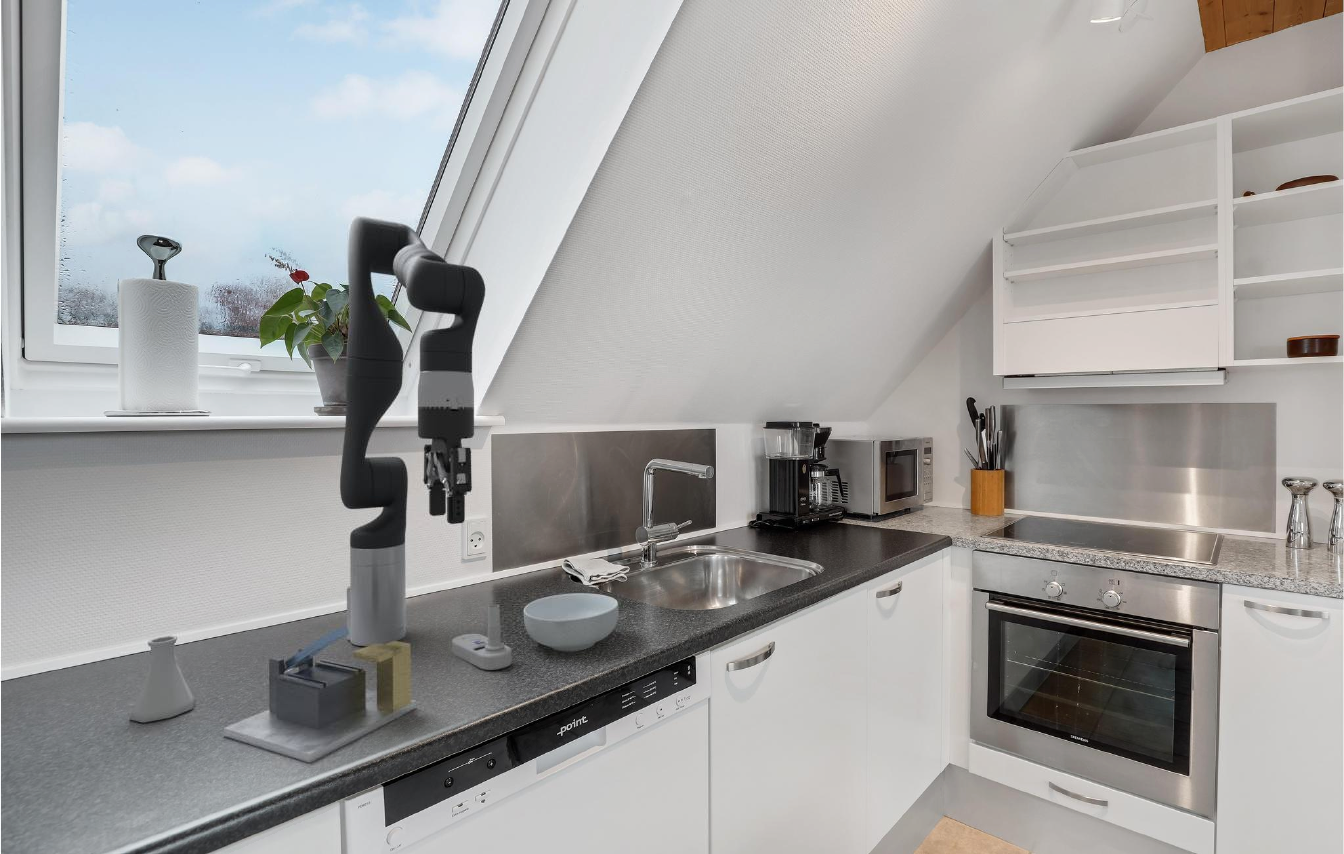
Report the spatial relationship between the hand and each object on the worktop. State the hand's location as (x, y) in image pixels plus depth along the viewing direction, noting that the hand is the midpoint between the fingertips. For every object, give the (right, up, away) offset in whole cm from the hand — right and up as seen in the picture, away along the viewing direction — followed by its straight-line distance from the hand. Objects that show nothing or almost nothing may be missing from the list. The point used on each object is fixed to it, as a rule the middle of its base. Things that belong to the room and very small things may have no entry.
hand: (446, 519), depth 92 cm
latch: (-7, -25, -5) cm, 26 cm away
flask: (-38, -26, -3) cm, 46 cm away
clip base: (-14, -26, -6) cm, 30 cm away
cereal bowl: (+14, -26, +24) cm, 38 cm away
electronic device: (0, -26, +17) cm, 31 cm away
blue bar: (-16, -17, -6) cm, 24 cm away
